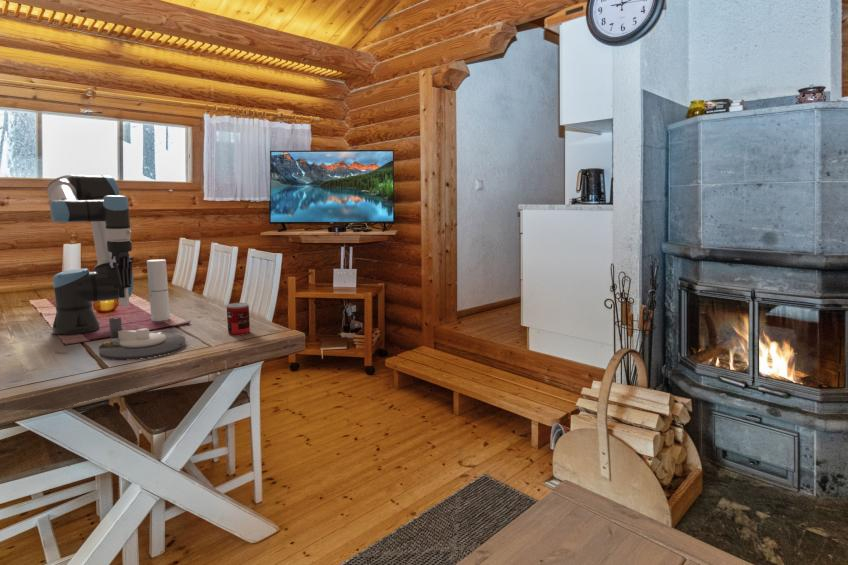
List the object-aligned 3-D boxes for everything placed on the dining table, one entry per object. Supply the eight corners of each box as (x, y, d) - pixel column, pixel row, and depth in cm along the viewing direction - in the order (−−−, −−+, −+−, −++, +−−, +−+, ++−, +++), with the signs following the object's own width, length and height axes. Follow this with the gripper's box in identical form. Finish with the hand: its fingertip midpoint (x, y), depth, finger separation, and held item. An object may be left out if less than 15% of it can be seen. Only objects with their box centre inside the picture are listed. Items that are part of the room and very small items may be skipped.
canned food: (231, 330, 205) (229, 302, 203) (252, 330, 206) (250, 302, 204) (225, 335, 198) (223, 306, 196) (247, 335, 198) (245, 306, 197)
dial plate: (82, 360, 168) (81, 353, 167) (125, 338, 193) (124, 332, 193) (165, 359, 169) (165, 352, 168) (197, 338, 194) (196, 331, 194)
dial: (174, 337, 186) (173, 316, 185) (148, 348, 173) (146, 325, 172) (126, 335, 189) (124, 314, 188) (96, 345, 176) (94, 323, 175)
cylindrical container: (162, 321, 220) (158, 261, 216) (147, 320, 221) (142, 261, 217) (174, 317, 227) (169, 259, 223) (159, 317, 228) (154, 259, 224)
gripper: (120, 242, 180) (125, 310, 184) (139, 238, 192) (144, 301, 197) (97, 242, 179) (103, 310, 184) (118, 238, 192) (123, 301, 197)
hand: (124, 305), depth 190 cm, fingers closed
